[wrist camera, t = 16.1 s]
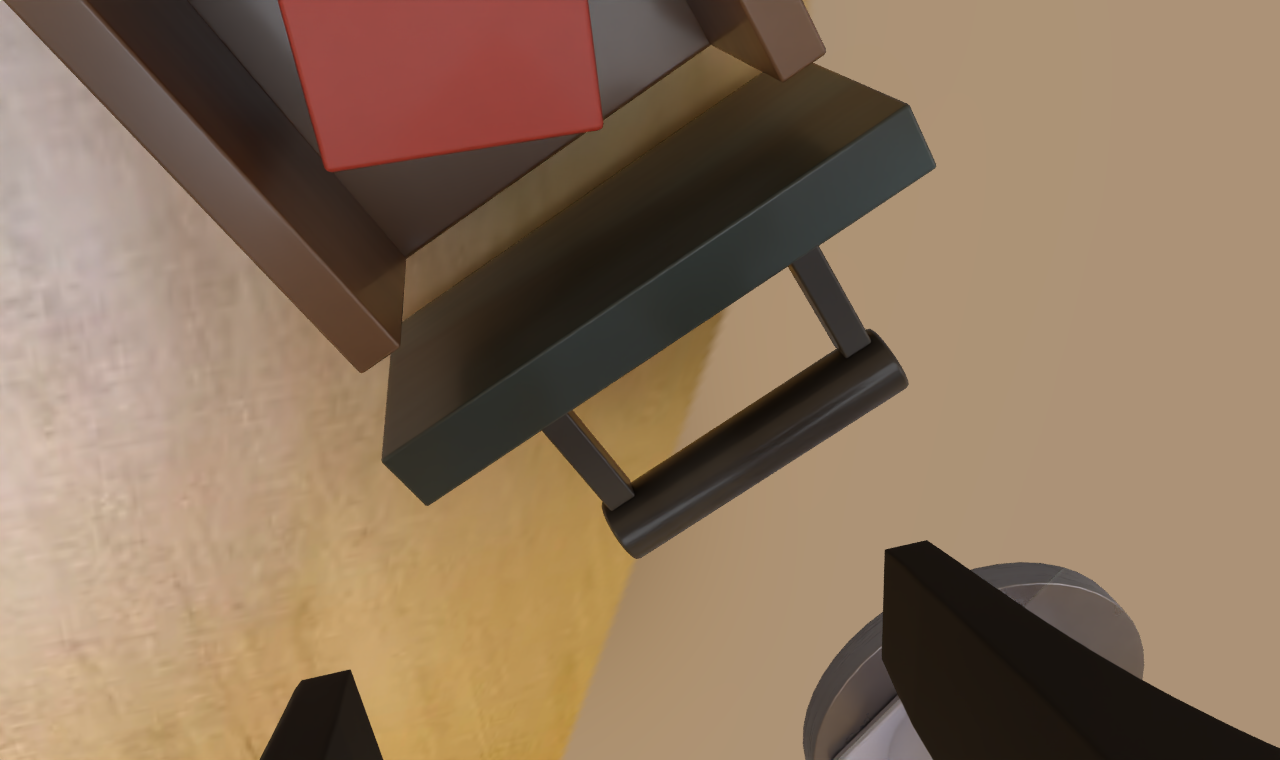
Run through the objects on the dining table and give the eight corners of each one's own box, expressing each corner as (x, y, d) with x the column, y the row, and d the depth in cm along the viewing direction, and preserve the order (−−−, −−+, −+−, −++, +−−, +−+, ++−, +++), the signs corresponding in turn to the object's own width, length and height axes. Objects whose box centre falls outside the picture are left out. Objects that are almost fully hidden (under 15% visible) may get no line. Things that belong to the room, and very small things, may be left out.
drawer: (903, 273, 21) (1032, 377, 17) (550, 504, 22) (581, 662, 18) (434, -650, 13) (437, -951, 8) (-96, -212, 14) (-357, -267, 9)
